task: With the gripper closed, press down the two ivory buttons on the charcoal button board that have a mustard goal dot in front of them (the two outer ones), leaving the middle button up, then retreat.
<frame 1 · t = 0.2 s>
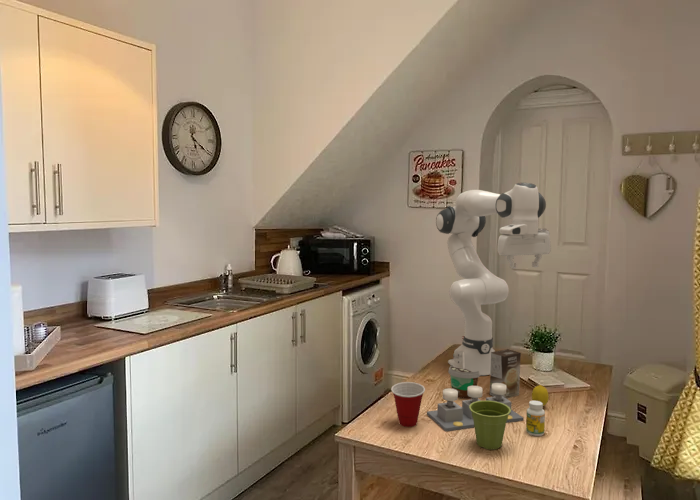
hand: (523, 267, 197), 47 cm above the table, tool pointing down, fingers open, 8 cm apart
button c: (450, 400, 180), point 7 cm above the table, slide at 0.0 cm
supplement bottle: (535, 433, 171), on the table
plastic cup: (407, 424, 178), on the table
button a: (498, 394, 185), point 7 cm above the table, slide at 0.0 cm
plant pot: (488, 445, 163), on the table
button b: (474, 397, 182), point 7 cm above the table, slide at 0.0 cm
button board: (474, 417, 183), on the table
coffee box: (504, 395, 203), on the table
food container: (460, 396, 202), on the table
lemon: (539, 407, 191), on the table
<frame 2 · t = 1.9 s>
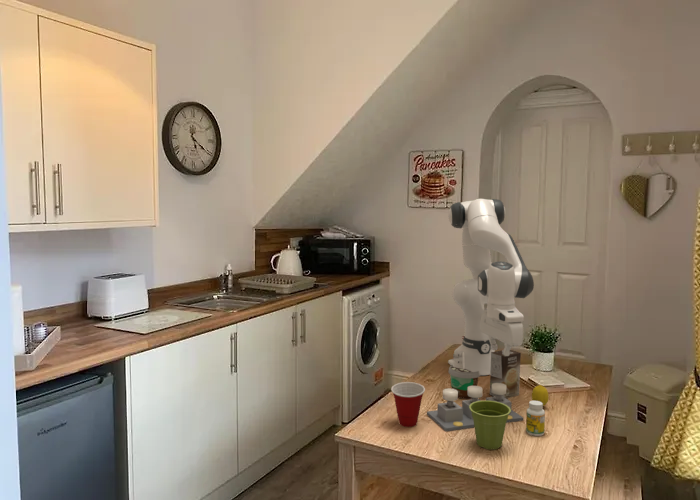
hand: (499, 352, 183), 21 cm above the table, tool pointing down, fingers open, 6 cm apart
nothing on the table moved.
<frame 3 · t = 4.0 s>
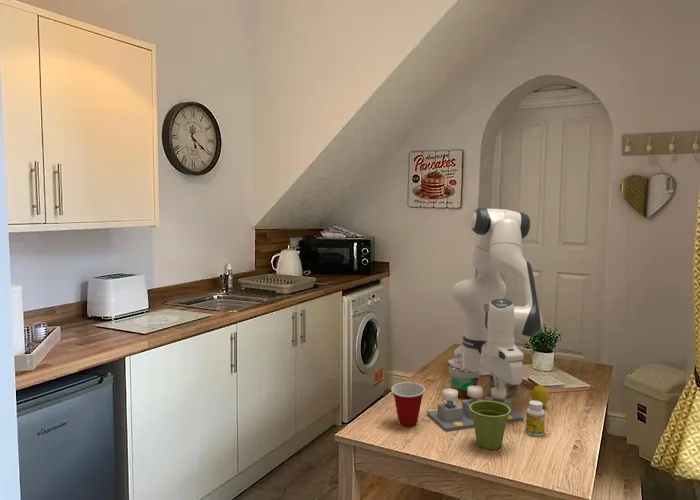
hand: (499, 389, 184), 9 cm above the table, tool pointing down, fingers closed, pressing on button a
button a: (498, 398, 185), point 5 cm above the table, slide at 1.3 cm, touching gripper
everything else where it was.
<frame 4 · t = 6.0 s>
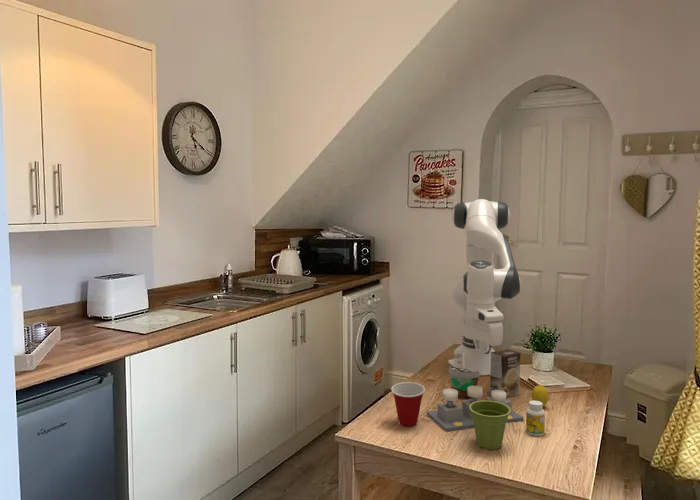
hand: (480, 353, 180), 22 cm above the table, tool pointing down, fingers closed
button a: (498, 401, 185), point 4 cm above the table, slide at 2.5 cm
everything else where it was.
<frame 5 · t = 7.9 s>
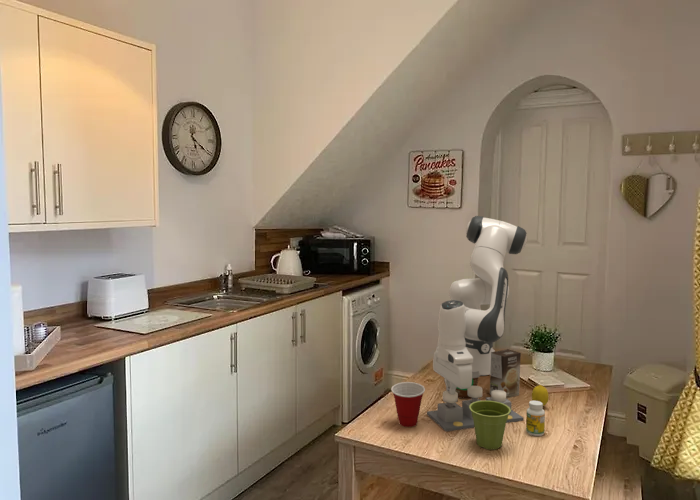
hand: (450, 393, 179), 9 cm above the table, tool pointing down, fingers closed, pressing on button c
button c: (450, 402, 180), point 6 cm above the table, slide at 0.7 cm, touching gripper
everything else where it was.
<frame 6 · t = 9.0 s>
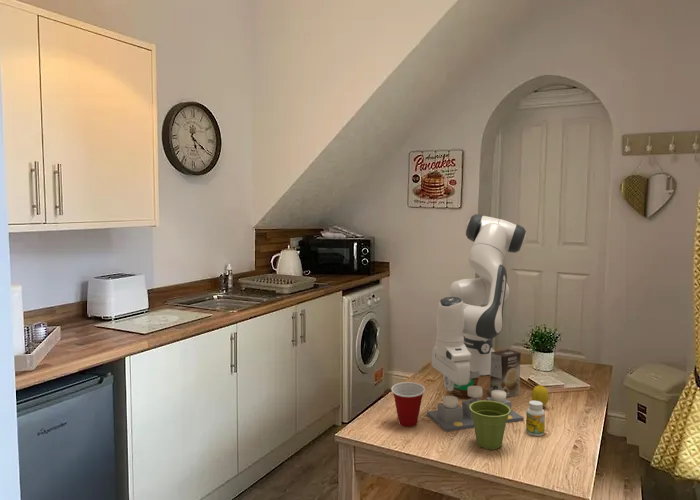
hand: (448, 389, 180), 10 cm above the table, tool pointing down, fingers closed
button c: (450, 407, 180), point 4 cm above the table, slide at 2.5 cm
everything else where it was.
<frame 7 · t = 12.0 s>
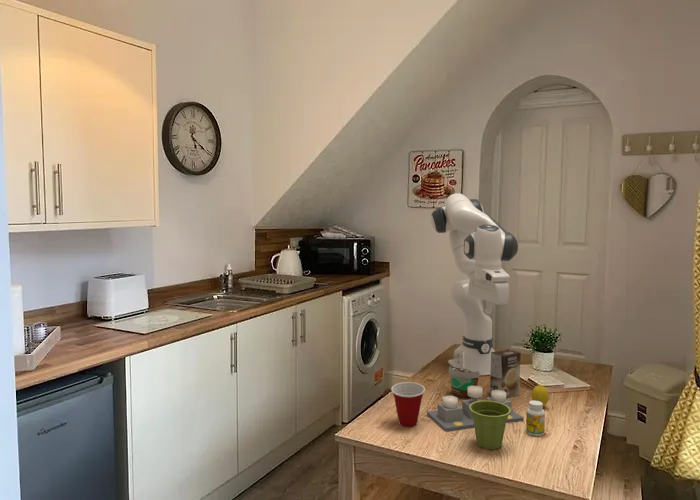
hand: (486, 313, 189), 33 cm above the table, tool pointing down, fingers closed
nothing on the table moved.
at the end: button a slide at 2.5 cm; button c slide at 2.5 cm; button b slide at 0.0 cm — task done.
